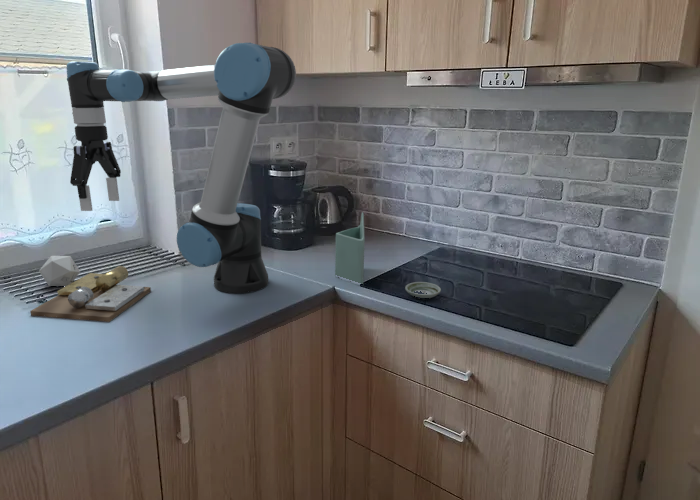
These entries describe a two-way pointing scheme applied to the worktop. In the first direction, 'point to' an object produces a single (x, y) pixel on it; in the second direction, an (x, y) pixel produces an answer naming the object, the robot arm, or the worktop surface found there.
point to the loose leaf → (97, 281)
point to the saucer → (423, 289)
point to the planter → (350, 253)
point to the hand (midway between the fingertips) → (101, 205)
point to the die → (59, 271)
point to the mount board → (82, 308)
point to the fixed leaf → (104, 297)
